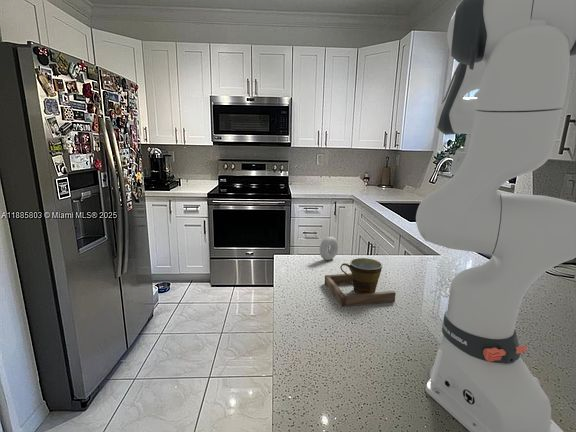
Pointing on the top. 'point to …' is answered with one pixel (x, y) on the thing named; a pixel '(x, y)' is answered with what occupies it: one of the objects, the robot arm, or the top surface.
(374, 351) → the top surface
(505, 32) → the robot arm
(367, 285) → the ceramic cup
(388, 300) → the wooden u-shaped frame
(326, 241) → the donut
